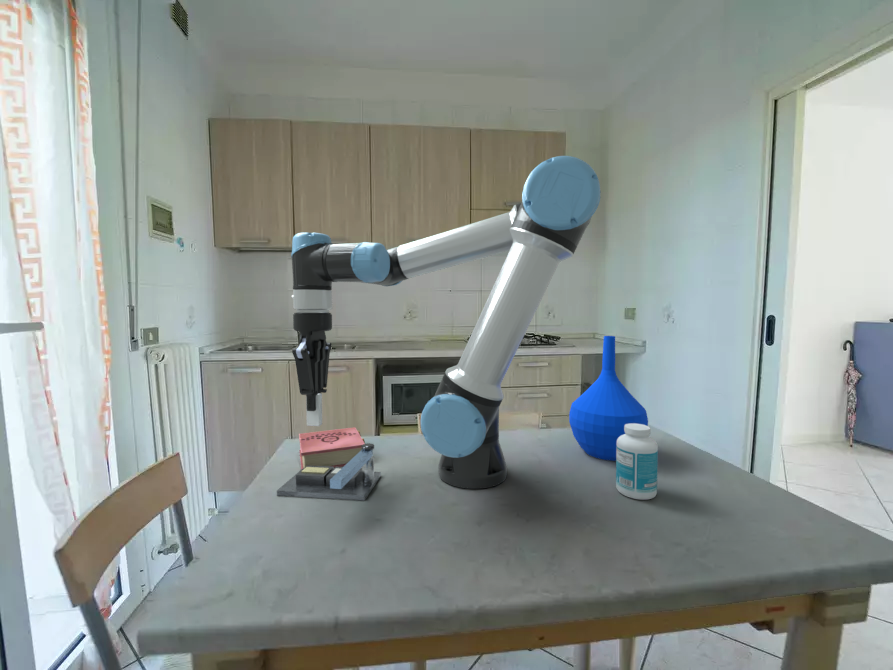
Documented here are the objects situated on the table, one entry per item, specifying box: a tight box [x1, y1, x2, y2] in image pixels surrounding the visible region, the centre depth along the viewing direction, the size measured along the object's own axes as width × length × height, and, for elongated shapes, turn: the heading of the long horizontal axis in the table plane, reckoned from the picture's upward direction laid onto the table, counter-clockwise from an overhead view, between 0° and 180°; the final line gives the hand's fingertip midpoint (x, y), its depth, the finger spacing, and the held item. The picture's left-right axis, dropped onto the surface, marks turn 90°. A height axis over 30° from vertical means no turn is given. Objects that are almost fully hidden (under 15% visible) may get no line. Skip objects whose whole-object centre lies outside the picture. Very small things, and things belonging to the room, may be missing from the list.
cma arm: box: [330, 443, 375, 489], centre depth 75 cm, size 16×3×2 cm, turn 170°
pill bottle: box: [615, 423, 659, 501], centre depth 79 cm, size 8×7×14 cm
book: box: [298, 427, 366, 470], centre depth 99 cm, size 14×15×5 cm
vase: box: [568, 335, 649, 462], centre depth 99 cm, size 18×18×30 cm
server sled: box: [276, 455, 382, 501], centre depth 83 cm, size 18×11×6 cm, turn 83°
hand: (314, 424), depth 82 cm, fingers closed
